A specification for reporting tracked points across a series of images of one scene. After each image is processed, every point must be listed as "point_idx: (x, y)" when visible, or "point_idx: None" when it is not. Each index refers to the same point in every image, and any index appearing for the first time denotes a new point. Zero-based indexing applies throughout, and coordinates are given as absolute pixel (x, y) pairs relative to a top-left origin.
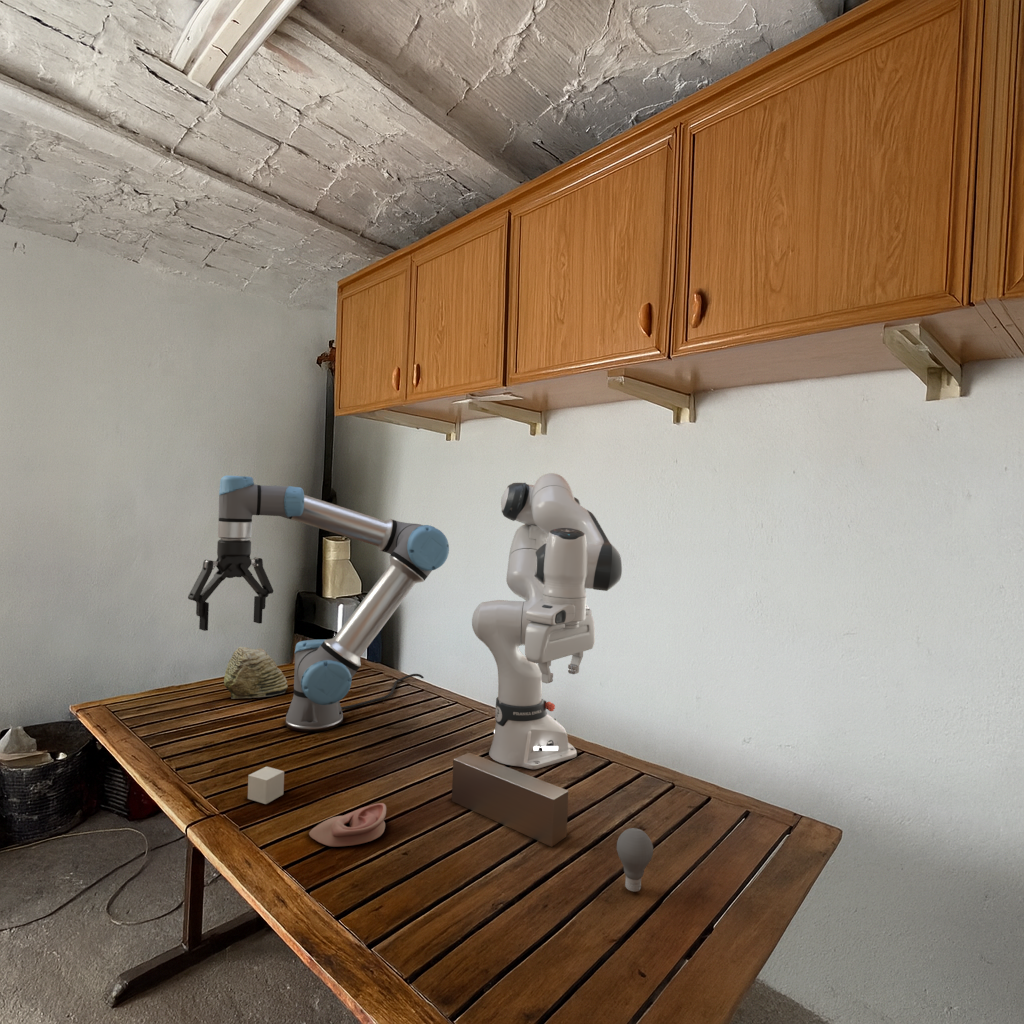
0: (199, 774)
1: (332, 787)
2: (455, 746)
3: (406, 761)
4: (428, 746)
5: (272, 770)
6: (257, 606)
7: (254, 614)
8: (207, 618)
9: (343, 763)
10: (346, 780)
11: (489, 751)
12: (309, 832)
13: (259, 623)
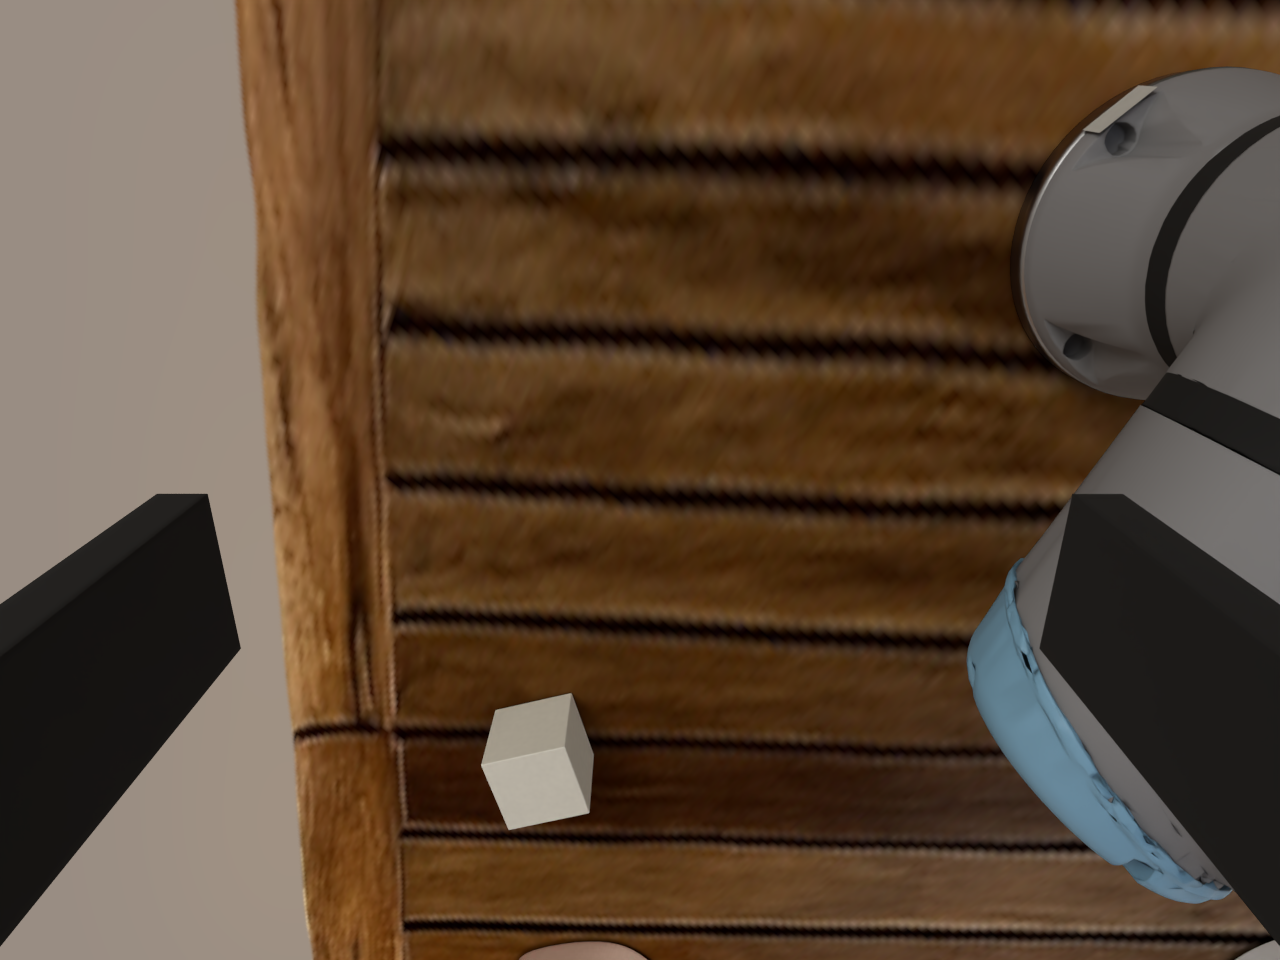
0: (447, 433)
1: (732, 808)
2: None
3: (1037, 822)
4: None
5: (561, 786)
6: (1228, 783)
7: (1142, 576)
8: (125, 774)
9: (885, 702)
10: (796, 801)
11: (1256, 955)
12: (522, 957)
13: (1044, 650)
